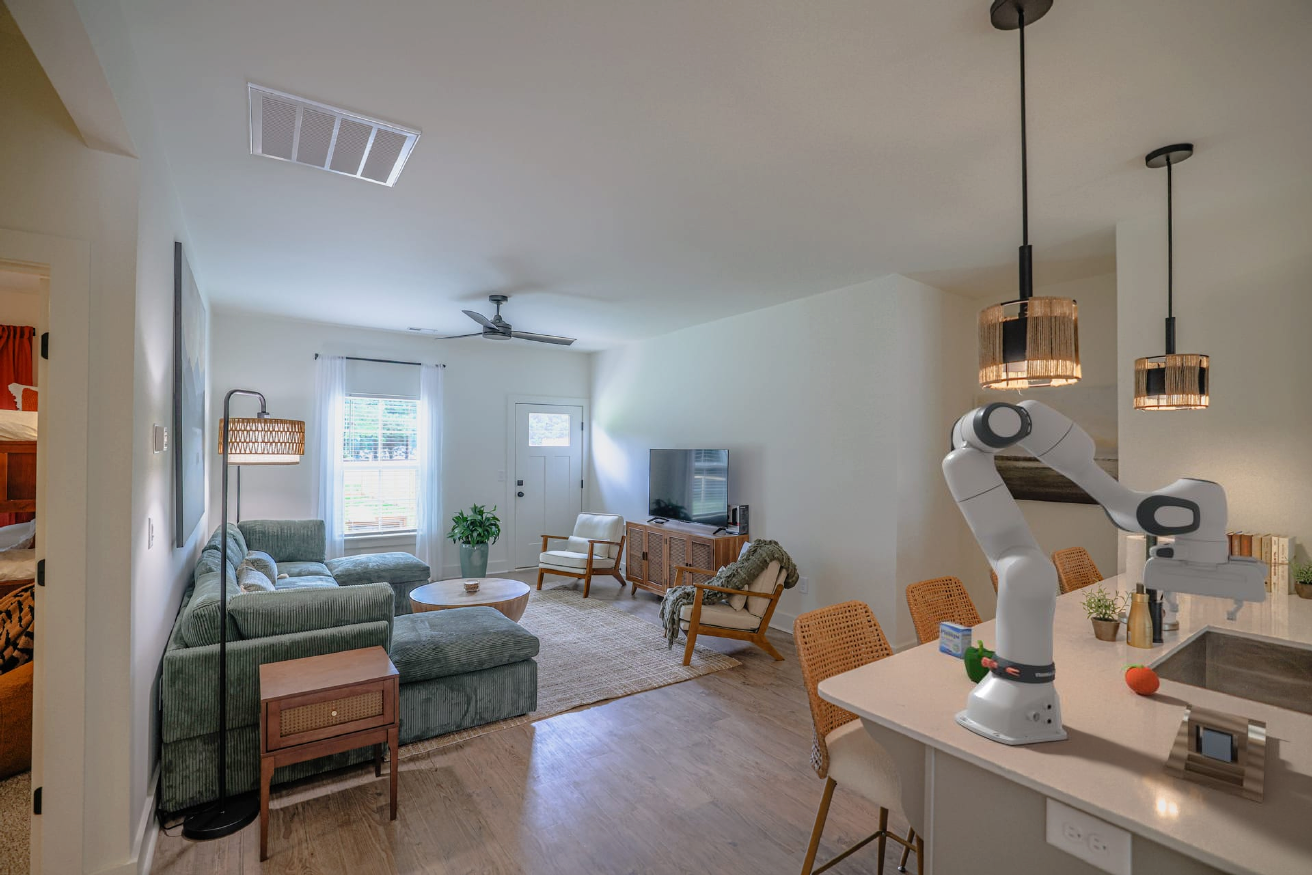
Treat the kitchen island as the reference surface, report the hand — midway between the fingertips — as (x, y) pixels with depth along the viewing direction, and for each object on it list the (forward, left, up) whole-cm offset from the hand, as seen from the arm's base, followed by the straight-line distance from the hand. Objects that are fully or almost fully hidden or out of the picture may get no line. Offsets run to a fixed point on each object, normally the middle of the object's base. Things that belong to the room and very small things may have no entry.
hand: (1202, 615), depth 134 cm
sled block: (-10, -7, -23) cm, 26 cm away
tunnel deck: (-9, -7, -25) cm, 27 cm away
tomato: (+12, +18, -25) cm, 34 cm away
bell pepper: (-19, +39, -25) cm, 50 cm away
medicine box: (-7, +57, -25) cm, 63 cm away
